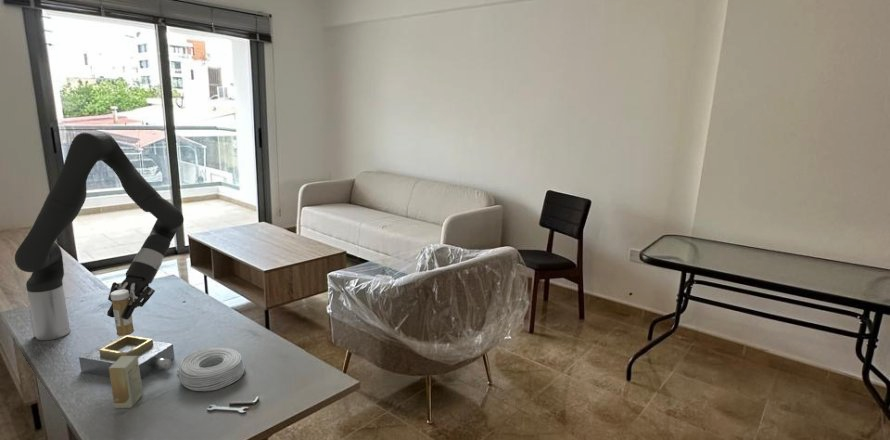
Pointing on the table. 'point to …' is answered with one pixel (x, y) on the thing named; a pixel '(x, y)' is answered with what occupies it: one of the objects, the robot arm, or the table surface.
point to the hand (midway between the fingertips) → (117, 317)
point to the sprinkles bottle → (121, 312)
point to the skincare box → (125, 381)
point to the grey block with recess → (146, 349)
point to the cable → (210, 369)
